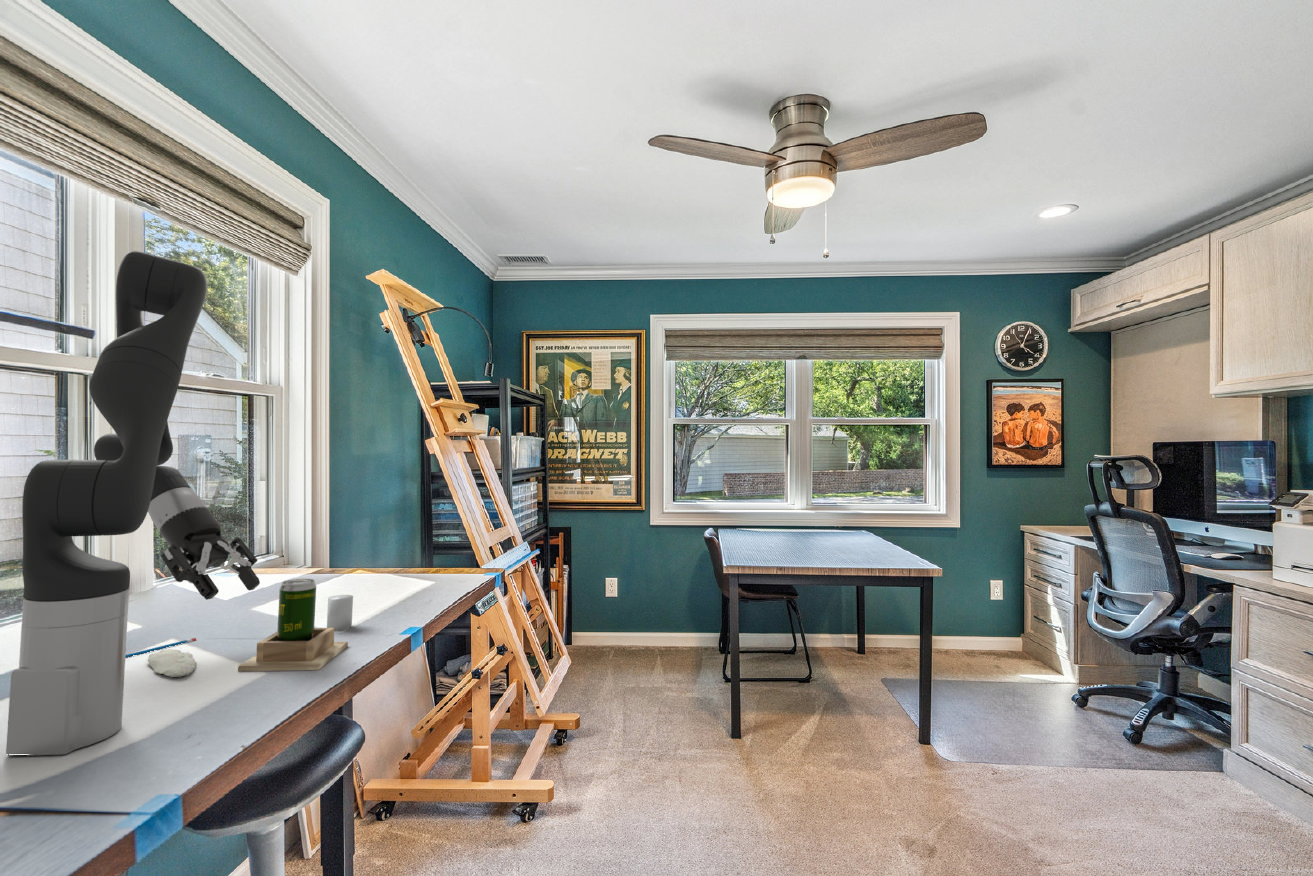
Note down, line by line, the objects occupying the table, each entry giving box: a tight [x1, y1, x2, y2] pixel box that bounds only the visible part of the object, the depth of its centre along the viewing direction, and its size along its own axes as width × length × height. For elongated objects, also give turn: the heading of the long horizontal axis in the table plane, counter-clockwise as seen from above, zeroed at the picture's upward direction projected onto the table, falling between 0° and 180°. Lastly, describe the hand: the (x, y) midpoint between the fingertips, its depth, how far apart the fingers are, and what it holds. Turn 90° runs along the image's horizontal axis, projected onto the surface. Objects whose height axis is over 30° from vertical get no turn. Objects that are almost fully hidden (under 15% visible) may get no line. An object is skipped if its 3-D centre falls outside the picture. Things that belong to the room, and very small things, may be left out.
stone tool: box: [147, 648, 197, 678], centre depth 96 cm, size 6×2×15 cm
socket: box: [237, 627, 349, 672], centre depth 101 cm, size 12×12×4 cm
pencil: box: [125, 637, 197, 659], centre depth 101 cm, size 1×17×1 cm, turn 158°
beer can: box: [276, 578, 317, 641], centre depth 101 cm, size 5×5×12 cm
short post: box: [326, 594, 354, 632], centre depth 119 cm, size 4×4×6 cm
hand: (235, 591), depth 102 cm, fingers open, 8 cm apart
